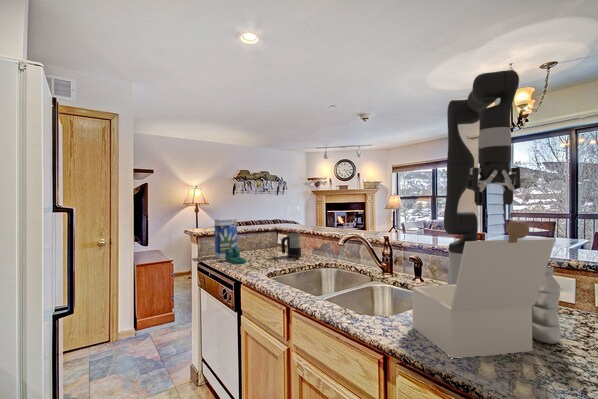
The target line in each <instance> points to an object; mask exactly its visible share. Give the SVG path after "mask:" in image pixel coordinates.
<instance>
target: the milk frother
mask: <svg viewBox="0 0 598 399" xmlns="http://www.w3.org/2000/svg"><path fill="white" fill-rule="evenodd" d="M286 241H287V256H288V257H289V258H294V259H296V260H298V259H301V257H302V234H301V233H288V234H287V236H283V237H282V238H281V240H280V242H281V244H280V246H281V253H282V254H286Z"/></svg>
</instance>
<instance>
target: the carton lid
mask: <svg viewBox="0 0 598 399" xmlns="http://www.w3.org/2000/svg"><path fill="white" fill-rule="evenodd" d="M506 232H507V234H508V235H509V236H508V239H496V240H495V239H492V240H477V241H465V245H464V249H463V254H462V259H461V263H460V268H459V273H458V278H457V282H456V287H455V292H454V296H453V301H452V306H451V311H452V312H453V311H466V310H479V309H492V308H505V307H518V306H531V305H535V303H536V300H537V297H538V294H539V290H540V287H541V284H542V281H543V278H544V274H545V271H546V268H547V266H549V265H548V264H549V261H550V259H551V255H552V252H553V249H554V245H555V241H556V238H554V237H543V238H542V237H541V238H540V237H539V238H526V237H527V236H528V235H529V233H530V227H529V225H528V224H527V223H526V222H525V221H523V220H520V219H519V220H512V221H510V222H509V223H508V224H507V226H506Z"/></svg>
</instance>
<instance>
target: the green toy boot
mask: <svg viewBox="0 0 598 399" xmlns="http://www.w3.org/2000/svg"><path fill="white" fill-rule="evenodd" d="M224 259H225V261H227V262H230V263H232V264H235V265H245V264H246V263H247V259H246V258H244V257H241V254H240V249H239V247H237V248H233V249H231V248H229V249H226V251H225V258H224Z"/></svg>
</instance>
